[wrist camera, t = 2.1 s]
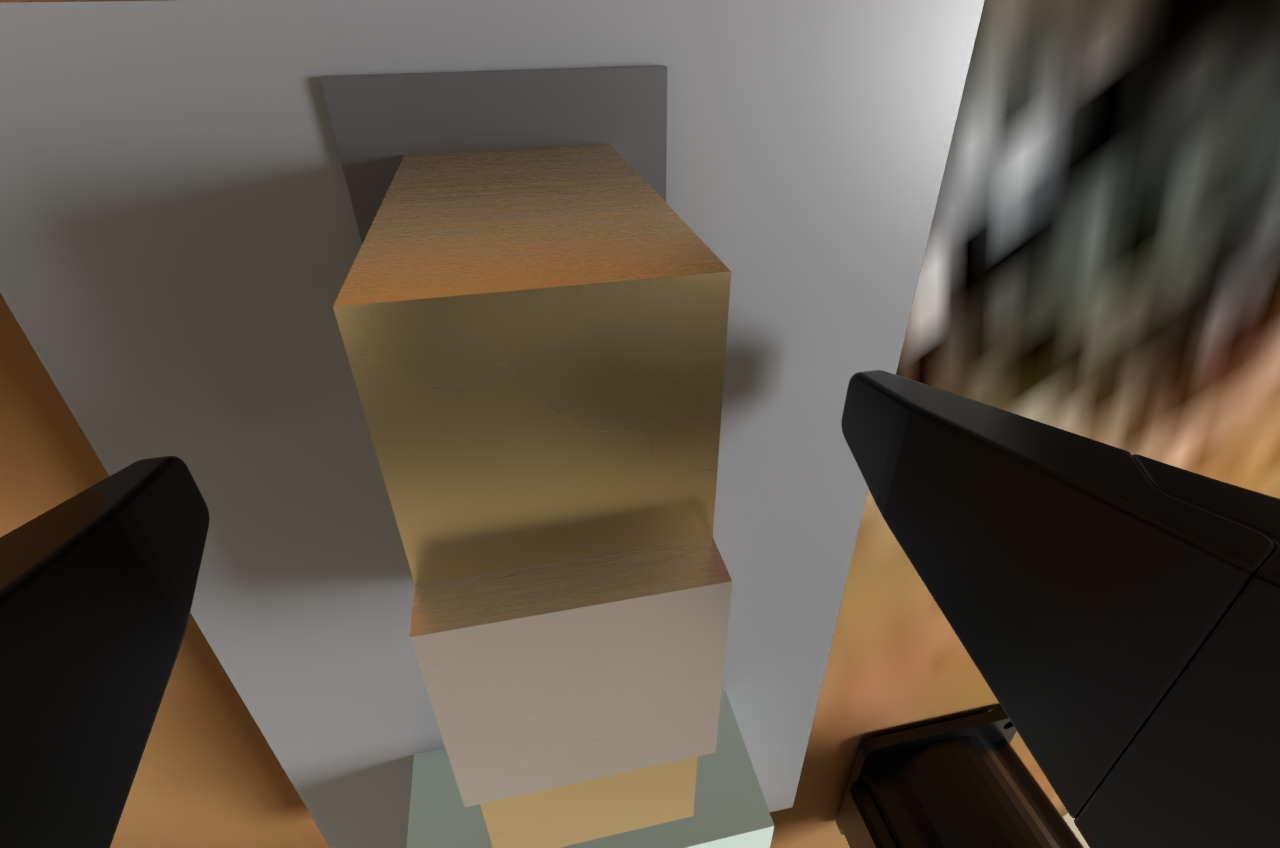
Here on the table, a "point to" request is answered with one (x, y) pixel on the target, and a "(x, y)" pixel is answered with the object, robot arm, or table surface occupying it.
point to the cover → (702, 844)
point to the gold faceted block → (551, 477)
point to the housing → (329, 243)
